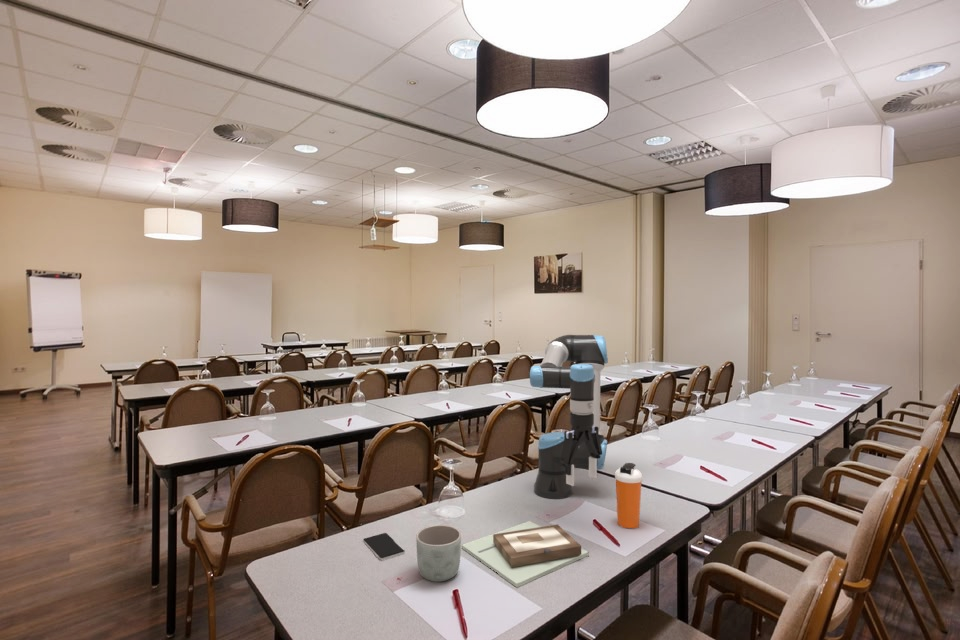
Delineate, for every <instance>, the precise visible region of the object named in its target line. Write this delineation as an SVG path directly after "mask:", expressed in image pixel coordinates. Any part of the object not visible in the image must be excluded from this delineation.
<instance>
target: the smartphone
mask: <svg viewBox="0 0 960 640" xmlns="http://www.w3.org/2000/svg"><path fill="white" fill-rule="evenodd" d="M362 539H363V543H364V544H365V545H366V546H367V547H368V548H369V550H370V551H371V552H372V553H373V554H374V555H375V557H376V558H377V559H378V560H379V561H383V562H384V561H387V560H390V559H393V558H396V557H399V556H402V555H405V553H406V551H405V549H404V548H403V547H402V546H401V545H400V544H399V543H397V542H396V540H394V539H393V538H392V537H391V536H390V535H389V534H388V533H387V532H383V533H379V534H376V535H372V536H369V537H368V536H367V537H366V538H362Z"/></svg>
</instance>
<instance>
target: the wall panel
mask: <svg viewBox="0 0 960 640" xmlns="http://www.w3.org/2000/svg"><path fill="white" fill-rule="evenodd" d="M537 527H541V526H540V525H539V524H536V523H534V522H532V521H531V520H528V521H526V522H523V523H519V524H518V525H513V526H512V527H509V528H506V529H503V530H500V531H497V532H494V533H492V534H488V535H486V536H483V537H481V538H477V539H475V540H472V541H469V542H466V543H464V544H461V550H464V551H465V552H466V553H467V554H469V555H471V556H472V557H474V558H475V559H476V560H478V561H479V562H480V561H481V562H480V563H482V564H483V565H485V567H487V566H488V567H487V568H489V569H490V568H491V569H490V570H491V571H493V570H494V571H495V572H494V571H493V572H494V573H496V572H497V573H498V574H497V573H496V574H497V575H498V576H500V577H501V576H502V577H501V578H502V579H504V580H505V581H507V582H509V584H511V585H513V586H514V587H515V588H519V587H522V586H523V585H526V584H528V583H530V582H532V581H535V580H537V579H538V578H541V577H544V576H546V575H548V574H551V573H552V572H554V571H557V570H559V569H561V568H563V567H565V566H568V565H570V564H572V563H575V562H577V561H579V560H581V559H584V558H586V557H588V556H589V551H587V550H585V549H584V548H582V547H581V555H576V556H570V557H565V558H559V559H554V560H548V561H543V562H537V563H532V564H526V565H521V566H515V567H511V566H510V564H509V563H508V562H507V560H506V559H505V558H504V556H503V555H502V554H501V552H500V551H499V549H498V548H497V547H496V545H495V544H494V543H493V534H499V533H505V532H512V531H518V530H524V529H531V528H537Z"/></svg>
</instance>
